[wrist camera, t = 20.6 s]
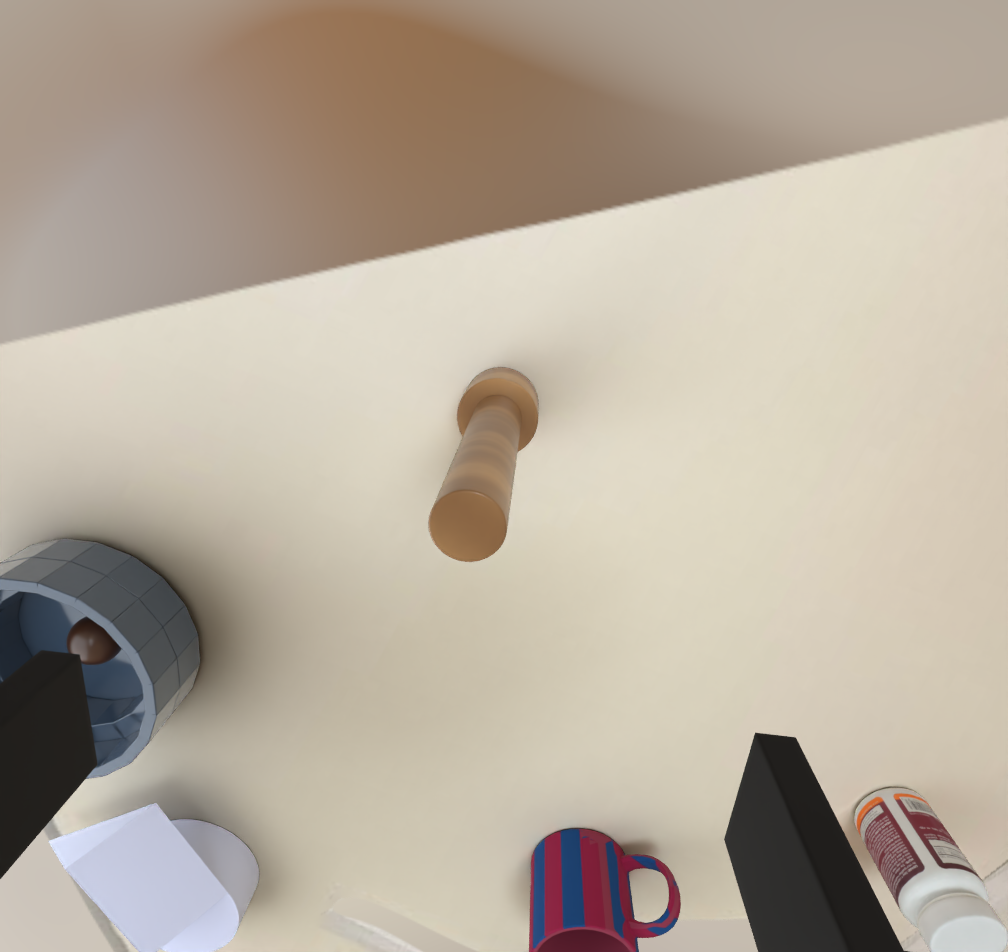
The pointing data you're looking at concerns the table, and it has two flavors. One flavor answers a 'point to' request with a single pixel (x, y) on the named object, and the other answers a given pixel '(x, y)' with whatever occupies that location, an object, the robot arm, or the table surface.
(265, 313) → the table surface
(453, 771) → the table surface
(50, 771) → the robot arm
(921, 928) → the pill bottle
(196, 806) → the table surface
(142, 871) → the wedge on round base
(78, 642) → the bead
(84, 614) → the bowl
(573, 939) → the mug
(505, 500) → the muddler
